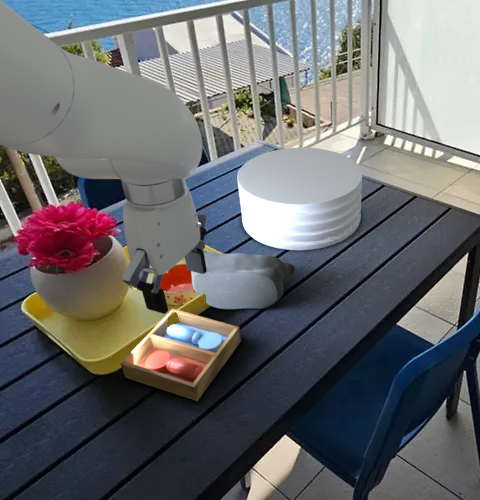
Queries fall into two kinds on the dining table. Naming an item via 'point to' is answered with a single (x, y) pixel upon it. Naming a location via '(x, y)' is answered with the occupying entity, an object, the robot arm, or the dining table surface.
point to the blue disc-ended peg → (196, 337)
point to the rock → (241, 280)
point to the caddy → (182, 355)
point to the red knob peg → (172, 365)
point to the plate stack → (300, 198)
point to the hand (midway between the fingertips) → (178, 289)
